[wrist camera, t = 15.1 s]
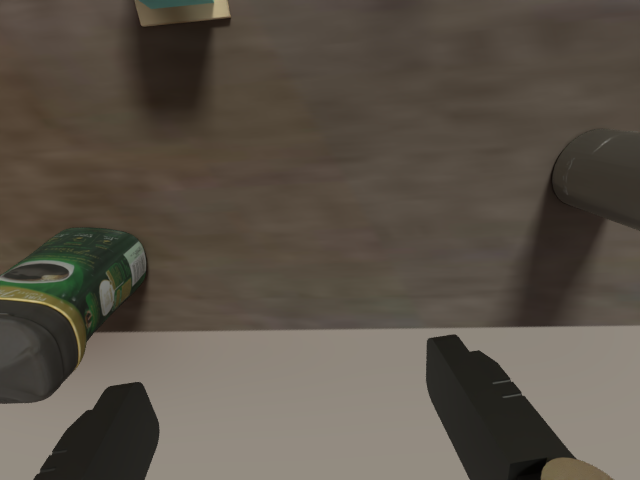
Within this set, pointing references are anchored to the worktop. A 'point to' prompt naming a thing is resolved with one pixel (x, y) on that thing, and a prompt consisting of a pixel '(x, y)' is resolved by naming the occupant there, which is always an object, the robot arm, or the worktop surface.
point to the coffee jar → (61, 306)
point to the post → (182, 13)
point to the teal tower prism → (172, 3)
